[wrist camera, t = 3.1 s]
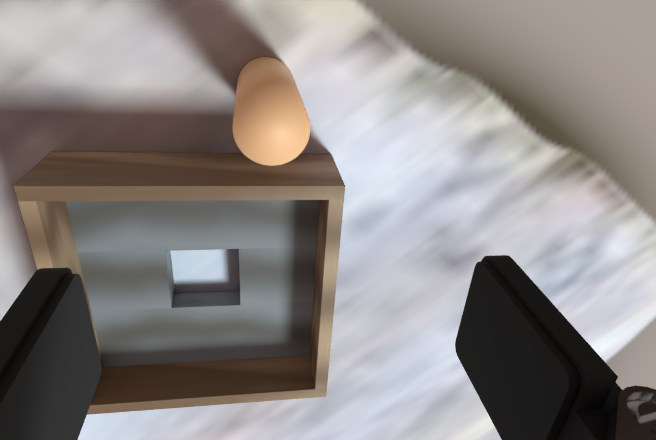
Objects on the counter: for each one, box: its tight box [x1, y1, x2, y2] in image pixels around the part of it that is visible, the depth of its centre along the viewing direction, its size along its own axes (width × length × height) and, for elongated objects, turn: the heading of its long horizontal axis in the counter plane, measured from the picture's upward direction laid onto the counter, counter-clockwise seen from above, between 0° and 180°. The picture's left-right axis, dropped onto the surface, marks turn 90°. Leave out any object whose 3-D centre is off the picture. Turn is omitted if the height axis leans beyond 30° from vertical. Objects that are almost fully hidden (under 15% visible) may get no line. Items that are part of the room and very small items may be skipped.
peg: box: [232, 57, 310, 166], centre depth 28 cm, size 4×4×10 cm
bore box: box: [14, 151, 345, 414], centre depth 36 cm, size 20×20×6 cm
